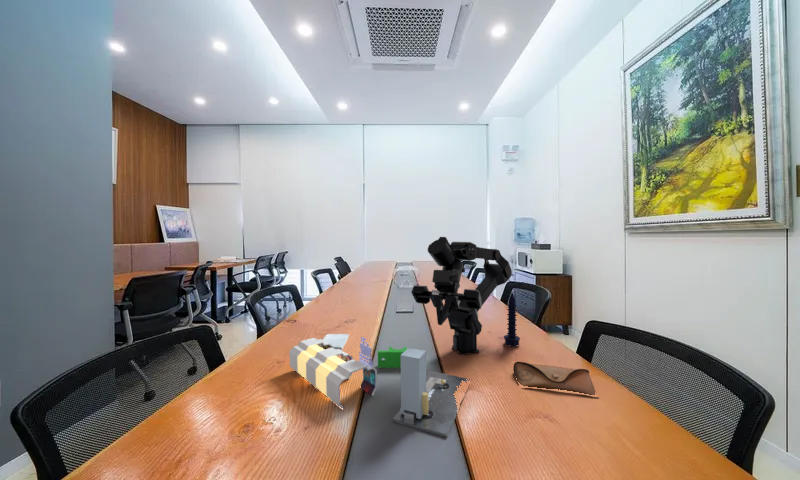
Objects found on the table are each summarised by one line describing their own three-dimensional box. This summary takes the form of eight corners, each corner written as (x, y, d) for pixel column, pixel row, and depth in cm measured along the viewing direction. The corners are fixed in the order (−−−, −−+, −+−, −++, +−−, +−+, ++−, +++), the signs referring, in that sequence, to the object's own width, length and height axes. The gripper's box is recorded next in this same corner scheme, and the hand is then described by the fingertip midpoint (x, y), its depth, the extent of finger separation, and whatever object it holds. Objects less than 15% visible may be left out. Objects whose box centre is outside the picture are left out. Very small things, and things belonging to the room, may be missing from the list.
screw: (516, 341, 100) (522, 347, 95) (501, 341, 100) (506, 347, 95) (516, 289, 100) (522, 292, 95) (501, 289, 100) (507, 292, 95)
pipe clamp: (417, 362, 85) (417, 346, 85) (417, 368, 81) (418, 352, 81) (378, 362, 85) (378, 346, 85) (377, 368, 82) (377, 351, 82)
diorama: (377, 395, 68) (376, 339, 68) (338, 414, 61) (337, 352, 61) (324, 361, 87) (323, 317, 86) (289, 372, 80) (289, 325, 79)
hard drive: (341, 347, 94) (348, 333, 106) (316, 347, 94) (326, 333, 106) (341, 352, 94) (348, 338, 106) (316, 352, 94) (326, 338, 106)
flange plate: (429, 372, 78) (429, 365, 78) (471, 381, 74) (471, 374, 74) (393, 421, 58) (392, 412, 58) (446, 437, 54) (446, 427, 54)
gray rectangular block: (407, 402, 63) (407, 347, 63) (430, 408, 61) (430, 351, 61) (400, 413, 59) (399, 354, 59) (424, 420, 57) (424, 359, 57)
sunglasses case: (517, 388, 70) (515, 358, 73) (513, 389, 76) (512, 362, 79) (603, 399, 66) (597, 367, 69) (592, 399, 71) (587, 370, 75)
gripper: (413, 257, 85) (397, 304, 75) (479, 259, 77) (471, 312, 67) (423, 280, 92) (409, 325, 82) (484, 284, 84) (477, 335, 74)
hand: (439, 324), depth 76 cm, fingers closed
